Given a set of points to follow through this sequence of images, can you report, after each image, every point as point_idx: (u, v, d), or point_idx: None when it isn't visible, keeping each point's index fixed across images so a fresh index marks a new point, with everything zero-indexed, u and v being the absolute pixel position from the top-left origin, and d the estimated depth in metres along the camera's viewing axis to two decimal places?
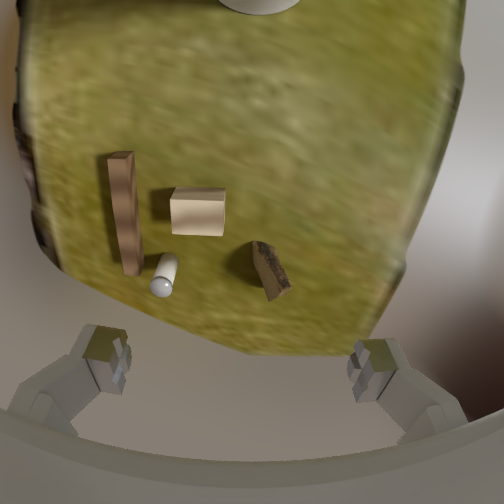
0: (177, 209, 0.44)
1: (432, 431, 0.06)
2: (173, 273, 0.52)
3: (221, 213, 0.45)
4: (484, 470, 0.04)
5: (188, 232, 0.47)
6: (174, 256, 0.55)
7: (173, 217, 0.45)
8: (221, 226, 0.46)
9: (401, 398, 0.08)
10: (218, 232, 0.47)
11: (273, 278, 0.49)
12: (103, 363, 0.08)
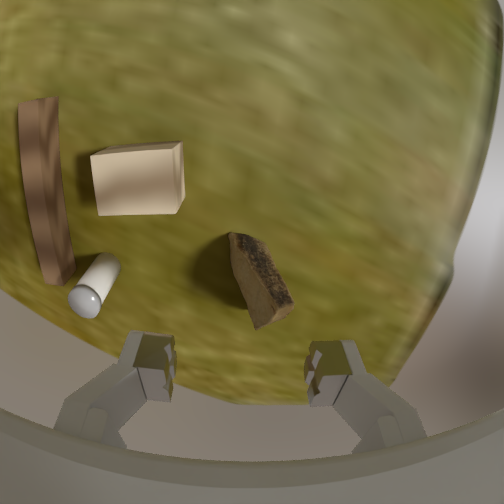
0: (102, 172, 0.25)
1: (382, 443, 0.06)
2: (105, 282, 0.31)
3: (170, 171, 0.25)
4: (484, 471, 0.04)
5: (120, 210, 0.27)
6: (113, 258, 0.34)
7: (97, 186, 0.25)
8: (172, 195, 0.26)
9: (355, 405, 0.08)
10: (168, 207, 0.27)
11: (262, 289, 0.28)
12: (156, 372, 0.08)
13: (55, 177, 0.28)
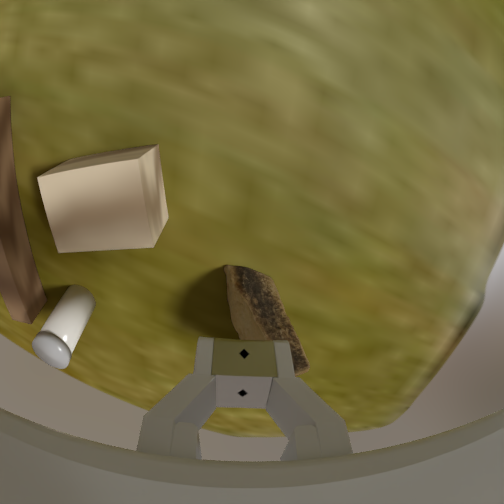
0: (54, 198, 0.17)
1: (296, 455, 0.06)
2: (74, 325, 0.23)
3: (138, 191, 0.17)
4: (484, 471, 0.04)
5: (83, 246, 0.19)
6: (85, 292, 0.27)
7: (51, 216, 0.18)
8: (145, 224, 0.19)
9: (283, 409, 0.08)
10: (142, 239, 0.19)
11: None
12: (236, 378, 0.08)
13: (10, 197, 0.20)
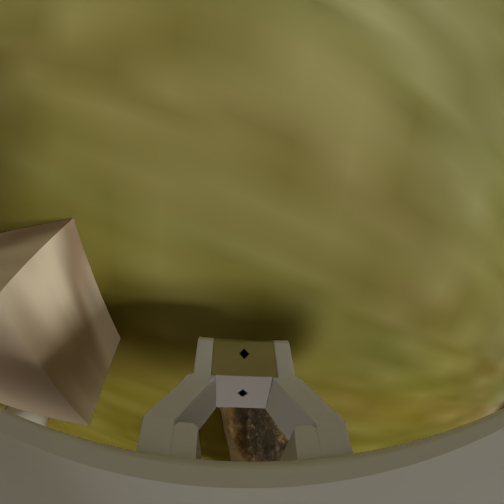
0: None
1: (296, 455, 0.06)
2: None
3: (25, 352, 0.06)
4: (484, 470, 0.04)
5: None
6: None
7: None
8: (61, 398, 0.08)
9: (283, 409, 0.08)
10: (67, 414, 0.08)
11: None
12: (236, 378, 0.08)
13: None
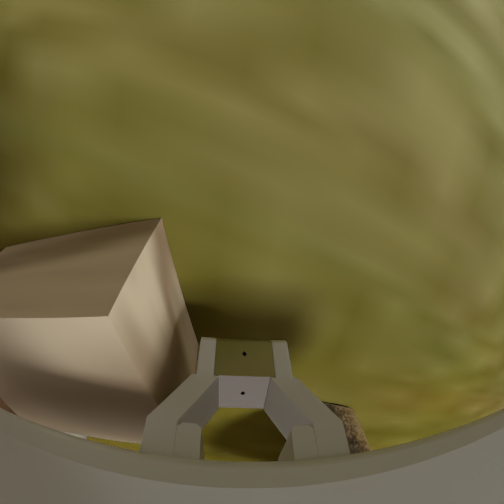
0: None
1: (293, 455, 0.06)
2: None
3: (131, 379, 0.06)
4: (484, 471, 0.04)
5: (55, 425, 0.08)
6: None
7: None
8: None
9: (280, 409, 0.08)
10: None
11: None
12: (239, 378, 0.08)
13: None
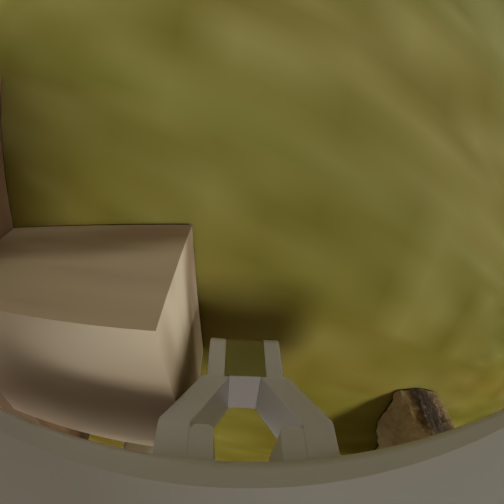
0: None
1: (282, 456, 0.06)
2: None
3: (160, 389, 0.07)
4: (484, 471, 0.04)
5: (53, 419, 0.08)
6: None
7: None
8: None
9: (271, 409, 0.08)
10: None
11: None
12: (249, 378, 0.08)
13: None
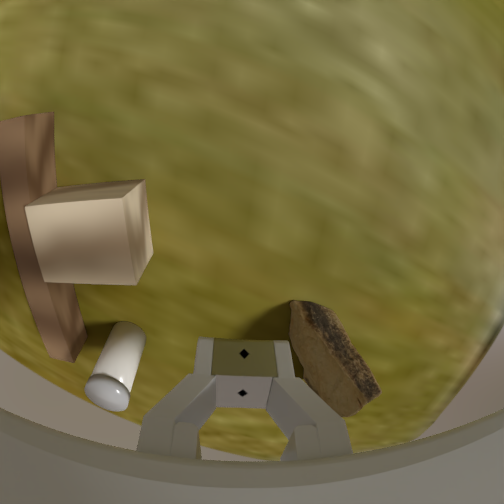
0: (40, 228, 0.17)
1: (296, 455, 0.06)
2: (131, 365, 0.23)
3: (122, 230, 0.17)
4: (484, 471, 0.04)
5: (68, 277, 0.19)
6: (136, 329, 0.26)
7: (37, 246, 0.18)
8: (128, 262, 0.18)
9: (283, 409, 0.08)
10: (125, 276, 0.19)
11: (345, 379, 0.20)
12: (236, 378, 0.08)
13: None
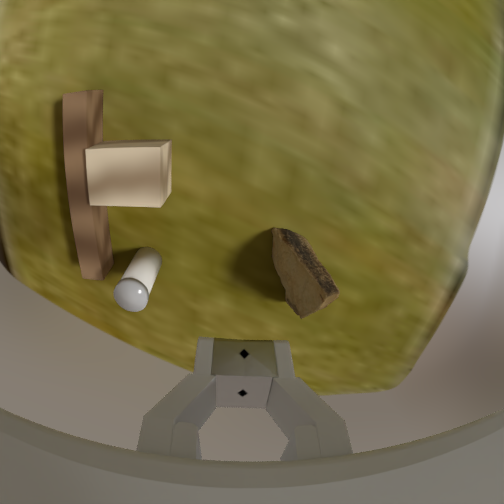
0: (95, 165, 0.26)
1: (296, 455, 0.06)
2: (151, 275, 0.33)
3: (157, 168, 0.27)
4: (484, 471, 0.04)
5: (110, 201, 0.28)
6: (155, 252, 0.36)
7: (90, 178, 0.27)
8: (158, 190, 0.28)
9: (283, 409, 0.08)
10: (154, 201, 0.28)
11: (310, 279, 0.30)
12: (236, 378, 0.08)
13: None
